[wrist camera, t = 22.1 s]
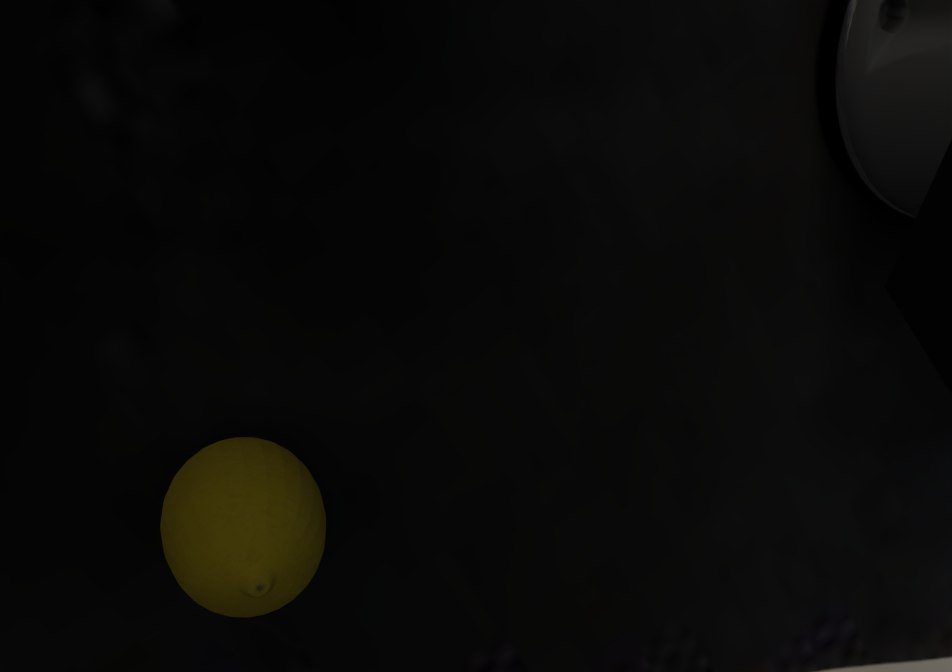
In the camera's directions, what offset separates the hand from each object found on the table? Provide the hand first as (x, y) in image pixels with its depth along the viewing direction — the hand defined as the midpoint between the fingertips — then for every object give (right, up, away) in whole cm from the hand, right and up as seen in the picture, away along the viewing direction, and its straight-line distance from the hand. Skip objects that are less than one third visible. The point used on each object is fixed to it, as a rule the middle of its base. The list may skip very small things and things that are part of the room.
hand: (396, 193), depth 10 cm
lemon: (-9, -7, +24) cm, 26 cm away
